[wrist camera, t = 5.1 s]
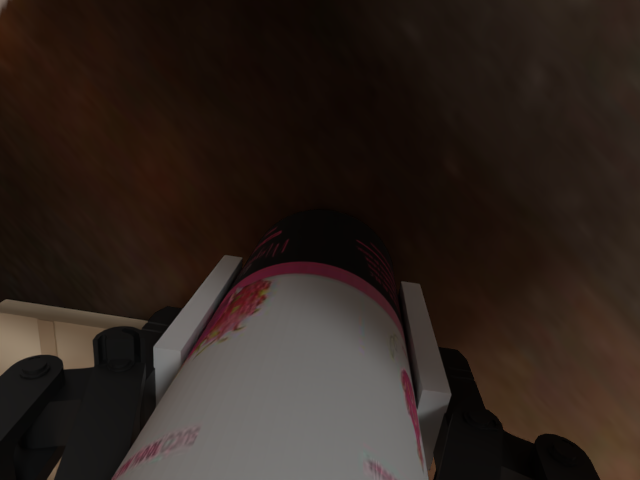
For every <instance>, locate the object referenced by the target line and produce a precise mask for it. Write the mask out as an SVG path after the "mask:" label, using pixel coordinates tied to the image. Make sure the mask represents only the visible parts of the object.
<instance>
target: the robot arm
mask: <svg viewBox="0 0 640 480" xmlns="http://www.w3.org/2000/svg"><path fill="white" fill-rule="evenodd" d="M242 260H243V258H242V257H235V256H229V255H224V256H223V258H222V259H221V260H220V261H219V263H218V264H217V265H216V267H215V268H214V269H213V271H212V272H211V273H210V274H209V276H208V277H207V278H206V280H205V281H204V282H203V283H202V285H201V286H200V287H199V289H198V290H197V291H196V293H195V294H194V295H193V296H192V298H191V299H190V300H189V302H188V303H187V304H186V305H185V307H184V308H183V309H182V308H176V307H169V306H167V307H165V308H163V309H161V310H159V311H157V312H156V313H154V315H153V316H152V317H151V318H150V319H149V320H148V323H146V324H145V325H144V326H143V327H142V329H141V330H140V329H138V328H135V327H131V326H118V327H112V328H109V329H106V330H103V331H102V332H100V333H99V334H97V335H96V336H95V338H94V339H93V340H92V341H93V353H94V367H90V368H79V369H64V366H63V361H62V360H61V359H60V358H59V357H57V356H53V355H36V356H31V357H27V358H25V359H22V360H20V361H18V362H16V363H15V364H13V365H12V366H11V367H9V368H8V369H7V370H6V371H5V372H4V373H3V374H2V375H1V376H0V480H47V478H48V477H49V475H50V474H51V472H52V471H53V469H54V468H55V466H56V465H57V463H58V462H59V460H60V459H61V461H60V464H59V466H58V469H57V472H56V475H55V478H54V480H111V479H112V477H113V476H114V474H115V473H116V471H117V469H118V468H119V466H120V465H121V463H122V461H123V460H124V458H125V457H126V455H127V453H128V452H129V450H130V448H131V447H132V445H133V444H134V442H135V440H136V439H137V437H138V436H139V434H140V432H141V431H142V429H143V428H144V426H145V424H146V423H147V421H148V420H149V418H150V416H151V415H152V413H153V412H154V410H155V408H156V407H157V405H158V404H159V402H160V400H161V399H162V397H163V396H164V394H165V392H166V391H167V389H168V388H169V386H170V384H171V383H172V381H173V379H174V378H175V376H176V375H177V373H178V371H179V370H180V368H181V367H182V365H183V363H184V362H185V360H186V359H187V357H188V355H189V354H190V352H191V351H192V349H193V347H194V346H195V344H196V343H197V341H198V339H199V338H200V336H201V335H202V333H203V331H204V330H205V328H206V327H207V325H208V323H209V322H210V320H211V319H212V317H213V315H214V314H215V312H216V311H217V309H218V307H219V306H220V304H221V302H222V301H223V299H224V298H225V296H226V294H227V293H228V291H229V290H230V288H231V286H232V285H233V283H234V282H235V280H236V278H237V277H238V275H239V274H240V272H241V270H242ZM398 301H399V307H400V313H401V319H402V325H403V331H404V337H405V343H406V349H407V354H408V360H409V366H410V372H411V378H412V384H413V390H414V396H415V402H416V408H417V414H418V420H419V426H420V431H421V437H422V443H423V449H424V455H425V461H426V467H427V470H430V467H431V464H432V460H433V457H434V460H435V465H436V472H435V475H434V479H433V480H600V478H599V476H598V474H597V472H596V470H595V468H594V466H593V464H592V462H591V460H590V459H589V457H588V456H587V455H586V453H585V452H584V451H583V450H582V449H581V448H580V447H578V446H577V445H576V444H575V443H573V442H571V441H569V440H568V439H566V438H564V437H561V436H558V435H555V434H543V435H540V436H538V438H537V439H536V440H535V443H534V444H533V443H531V442H528V441H526V440H523V439H521V438H518V437H516V436H513V435H511V434H509V433H507V432H506V431H504V430H503V427H502V424H501V422H500V421H499V419H498V418H497V417H496V416H495V415H494V414H493V413H491V412H490V411H489V410H487V409H485V406H484V404H483V401H482V398H481V396H480V393H479V390H478V388H477V385H476V382H475V381H474V377H473V375H472V372H471V369H470V367H469V364H468V361H467V359H466V358H465V357H464V356H463V355H462V354H461V353H460V352H459V351H458V350H455V349H448V348H442V347H438V346H437V342H436V339H435V335H434V332H433V328H432V325H431V321H430V318H429V314H428V311H427V307H426V304H425V300H424V297H423V293H422V290H421V286H420V284H417V283H410V282H404V281H401V284H400V289H399V294H398ZM61 457H62V458H61Z"/></svg>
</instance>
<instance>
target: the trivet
mask: <svg viewBox="0 0 640 480" xmlns="http://www.w3.org/2000/svg"><path fill="white" fill-rule="evenodd" d="M146 323H148V321H145V320H139V319H132V318H126V317H119V316H113V315H106V314H100V313H93V312H87V311H80V310H73V309H67V308H60V307H54V306H47V305H41V304H34V303H28V302H21V301H15V300H8V299H6V300H4V301H2V302H1V303H0V376H1V375H2V374H3V373H4V372H5V371H6V370H7V369H8V368H9V367H11V366H12V365H13V364H15V363H16V362H18V361H20V360H22V359H25V358H27V357H31V356H36V355H53V356H57V357H59V358H60V359H61V360H62V361H63V366H64V369H79V368H90V367H94V353H93V341H92V340H93V339H94V338H95V336H96V335H97V334H99V333H100V332H102V331H103V330H106V329H109V328H112V327H118V326H131V327H135V328H138V329H140V330H141V329H142V327H143V326H144V325H145V324H146ZM61 458H62V457H61ZM60 461H61V459H60V460H59V462H58V463H57V465H56V466H55V468H54V469H53V471H52V472H51V474H50V475H49V477H48V478H47V480H54V478H55V475H56V472H57V469H58V466H59V464H60Z"/></svg>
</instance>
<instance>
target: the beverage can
mask: <svg viewBox="0 0 640 480" xmlns="http://www.w3.org/2000/svg"><path fill="white" fill-rule="evenodd" d="M111 480H429V479H428V473H427V467H426V461H425V455H424V449H423V443H422V437H421V431H420V426H419V420H418V414H417V408H416V402H415V396H414V390H413V384H412V378H411V372H410V366H409V360H408V354H407V349H406V343H405V337H404V331H403V325H402V319H401V313H400V307H399V301H398V295H397V289H396V283H395V277H394V272H393V266H392V262H391V258H390V256H389V253H388V251H387V249H386V247H385V245H384V244H383V242H382V241H381V239H380V238H379V237H378V236H377V235H376V234H375V232H373V231H372V230H371V229H370V228H369V227H368V226H367V225H365V224H364V223H362V222H361V221H359V220H357V219H355V218H353V217H351V216H349V215H346V214H343V213H340V212H336V211H330V210H309V211H303V212H299V213H296V214H293V215H291V216H288V217H286V218H284V219H282V220H281V221H279V222H278V223H276V224H275V225H274V226H272V227H271V228H270V229H269V230H268V231H267V232H266V233H265V235H264V236H263V237H262V239H261V240H260V242H259V243H258V245H257V246H256V248H255V250H254V251H253V253H252V254H251V256H250V258H249V259H248V261H247V262H246V264H245V266H244V267H243V269H242V270H241V272H240V274H239V275H238V277H237V278H236V280H235V282H234V283H233V285H232V286H231V288H230V290H229V291H228V293H227V294H226V296H225V298H224V299H223V301H222V302H221V304H220V306H219V307H218V309H217V311H216V312H215V314H214V315H213V317H212V319H211V320H210V322H209V323H208V325H207V327H206V328H205V330H204V331H203V333H202V335H201V336H200V338H199V339H198V341H197V343H196V344H195V346H194V347H193V349H192V351H191V352H190V354H189V355H188V357H187V359H186V360H185V362H184V363H183V365H182V367H181V368H180V370H179V371H178V373H177V375H176V376H175V378H174V379H173V381H172V383H171V384H170V386H169V388H168V389H167V391H166V392H165V394H164V396H163V397H162V399H161V400H160V402H159V404H158V405H157V407H156V408H155V410H154V412H153V413H152V415H151V416H150V418H149V420H148V421H147V423H146V424H145V426H144V428H143V429H142V431H141V432H140V434H139V436H138V437H137V439H136V440H135V442H134V444H133V445H132V447H131V448H130V450H129V452H128V453H127V455H126V457H125V458H124V460H123V461H122V463H121V465H120V466H119V468H118V469H117V471H116V473H115V474H114V476H113V477H112V479H111Z"/></svg>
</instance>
